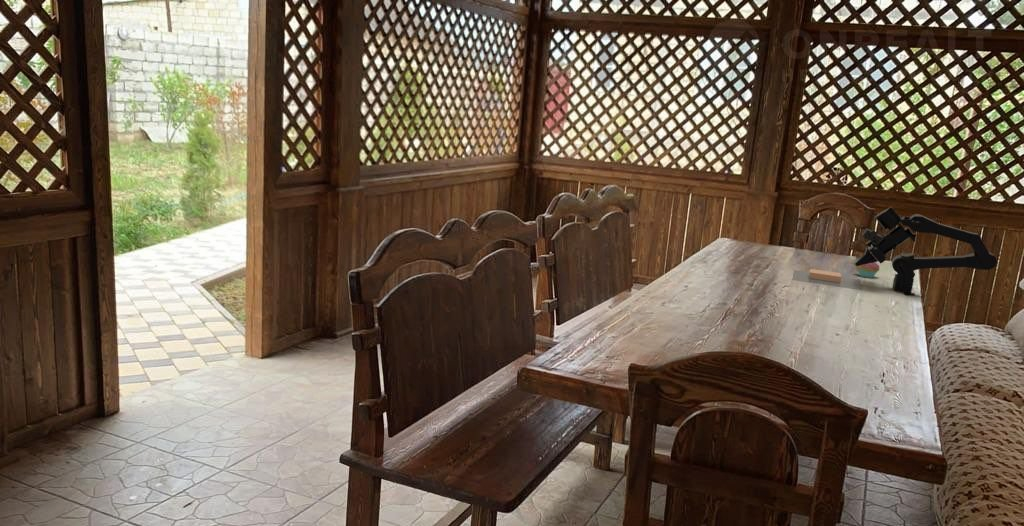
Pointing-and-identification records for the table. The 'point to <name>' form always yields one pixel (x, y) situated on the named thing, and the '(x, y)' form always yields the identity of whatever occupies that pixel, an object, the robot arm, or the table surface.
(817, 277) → the tile
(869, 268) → the cupcake
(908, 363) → the table surface
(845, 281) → the board
